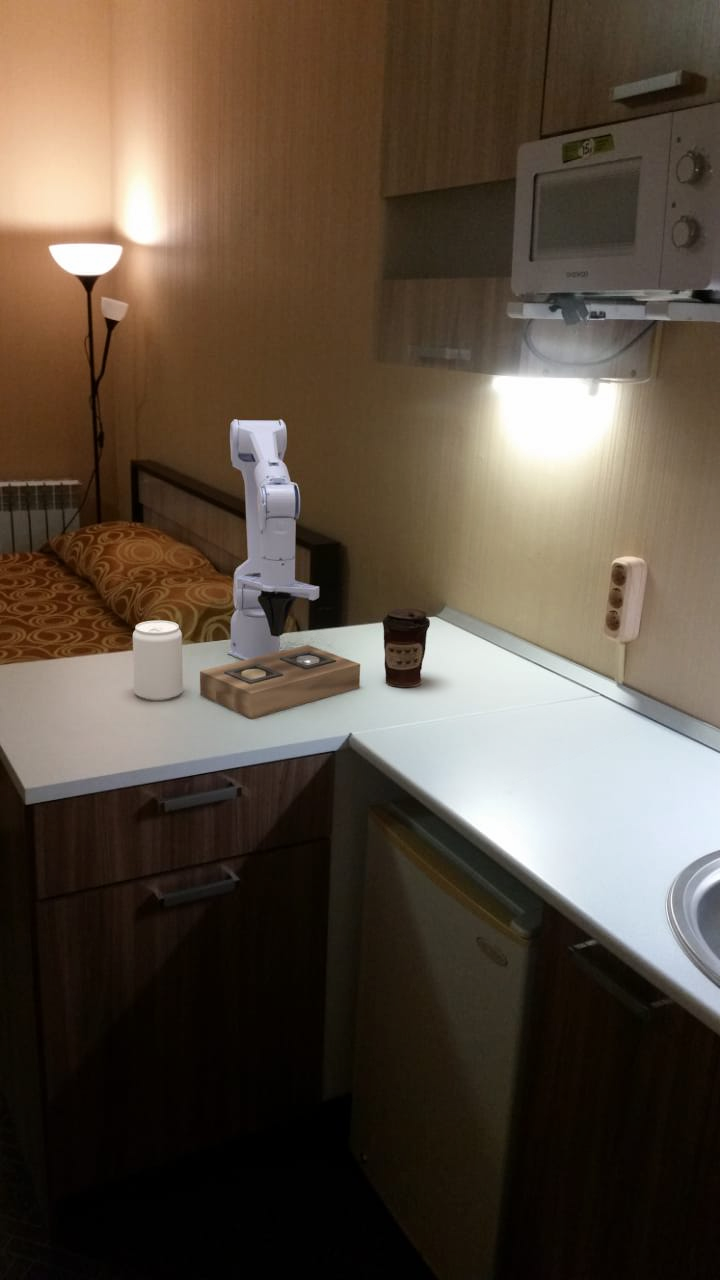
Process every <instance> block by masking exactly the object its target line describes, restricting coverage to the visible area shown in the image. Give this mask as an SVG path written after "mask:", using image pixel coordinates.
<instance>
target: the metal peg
mask: <svg viewBox="0 0 720 1280" xmlns="http://www.w3.org/2000/svg"><path fill="white" fill-rule="evenodd" d="M297 662H299V663H301V664H304V665H310V664H314V663H318V662H319V658H318V657H315V656H300V657H298V658H297Z"/></svg>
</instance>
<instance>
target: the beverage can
mask: <svg viewBox="0 0 720 1280" xmlns="http://www.w3.org/2000/svg"><path fill="white" fill-rule="evenodd" d="M134 628H135V630H134V631H133V633H132V653H133V655H132V656H133V658H132V661H133V662H132V663H133V687H134V688H133V689H134V694H135V695H137V696H139V697H140V698H142V697H143V699H144V698H145V700H149V701H165V699H167V700H170V699H169V698H171V699H173V698H175V697H177V696H179V695H180V694H182V692H183V691H184V690H183V689H184V687H183V686H184V682H183V681H184V680H183V679H184V678H183V677H184V674H183V633H182V631H181V629H180V628H179V624H178V623H176V622H174V621H170V620H147V621H142V622H140V623H137V624H136V625H135V627H134ZM172 697H173V698H172Z"/></svg>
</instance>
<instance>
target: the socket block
mask: <svg viewBox="0 0 720 1280" xmlns="http://www.w3.org/2000/svg"><path fill="white" fill-rule="evenodd" d="M300 656H315V657H318V658H319V662H318V663H314V664H310V665H304V664H301V663H299V662H297V658H298V657H300ZM248 669H259V670H263V671H265V672H266V676H264V677H260V678H256V679H252V680H251V679H248V678H246V677H243V676H242V672H243V671H244V670H248ZM360 675H361V664H360V663H358V662H356V661H353V660H350V659H349V658H345V657H341V656H339V655H337V654H335V653H332V652H330V651H329V652H328V651H326V650H322V649H321V648H317V647H314V646H312V645H310V644H306V645H302V646H297V647H292V648H289V649H284V650H280V652H276V653H272V654H268V655H264V656H260V657H256V658H251V659H247V660H240V661H235V662H231V663H227V664H223V665H219V666H215V667H211V668H206V669H203V670H202V669H201V670H200V671H199V686H200V687H199V692H200V693H199V696H200V695H201V696H200V697H202V696H203V698H204V699H207V700H209V701H212V702H213V703H216V704H218V705H220V706H222V707H224V708H226V709H228V710H230V711H233V712H235V713H237V714H239V715H242V716H243V717H246V718H248V719H251V720H253V719H257V718H261V717H263V716H266V715H269V714H273V713H277V712H280V711H283V710H288V709H291V708H295V707H297V706H301V705H304V704H307V703H312V702H315V701H319V700H322V699H325V698H329V697H332V696H336V695H338V694H342V693H346V692H350V691H352V690H356V689H359V688H360V683H361V681H360V680H361V679H360V678H361V677H360Z"/></svg>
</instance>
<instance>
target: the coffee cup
mask: <svg viewBox="0 0 720 1280" xmlns="http://www.w3.org/2000/svg"><path fill="white" fill-rule="evenodd" d="M386 614H387V615H385V617H384V618H383V620H382V627H383V651H384V670H385V683H386V684H388V685H390V686H393V687H398V688H399V687H400V688H409V687H411V688H412V687H416V686H419V685H421V684H422V677H421V676H422V675H421V672H422V670H423V669H422V668H423V661H424V657H425V654H426V644H427V636H428V633H427V632H428V629H429V628H430V626H431V625H430V624H431V621H430V619H429V618H428V617H427V612H426V611H423V610H420V609H417V608H415V609H414V608H403V609H402V608H401V609H400V608H397V609H394V610H389V611H387V612H386Z"/></svg>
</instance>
